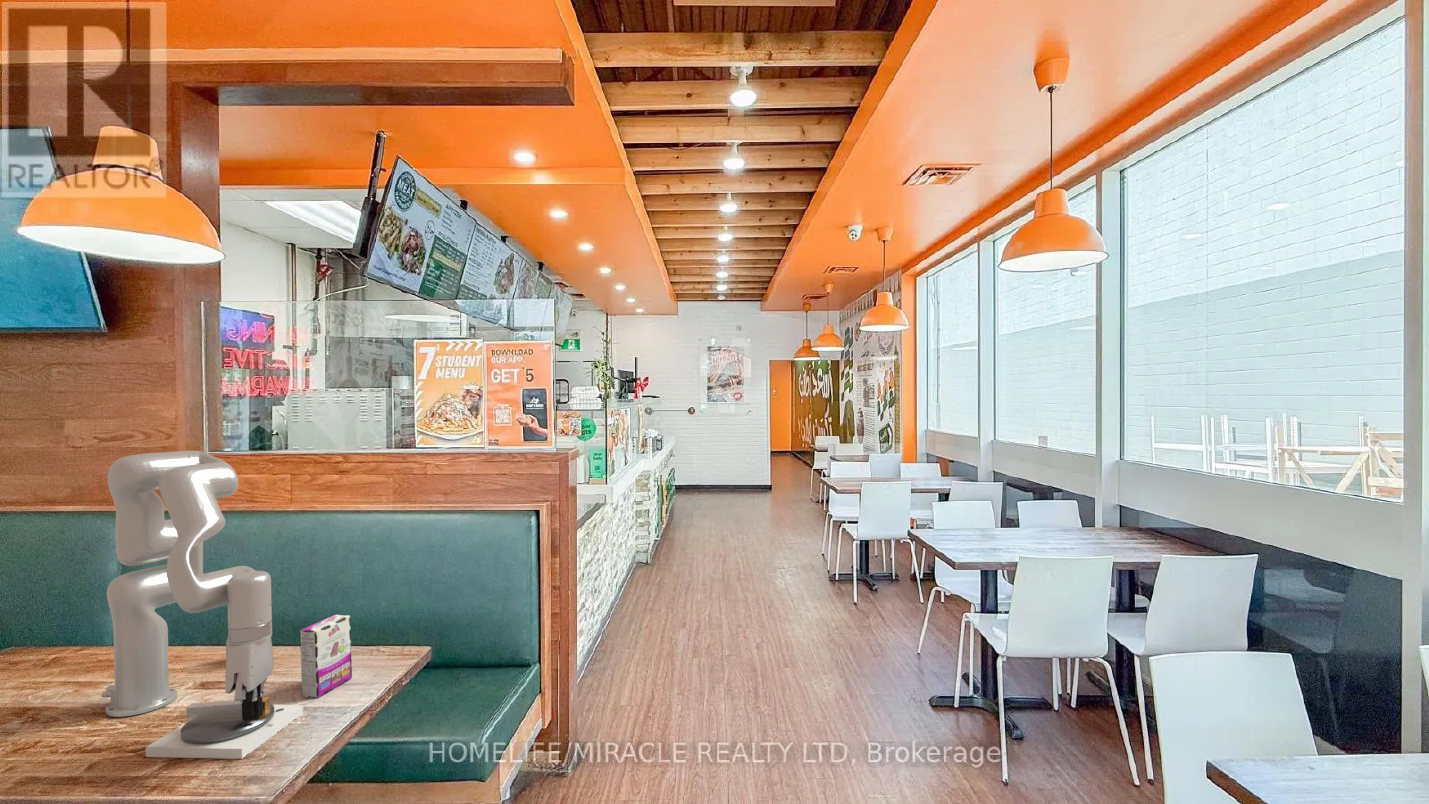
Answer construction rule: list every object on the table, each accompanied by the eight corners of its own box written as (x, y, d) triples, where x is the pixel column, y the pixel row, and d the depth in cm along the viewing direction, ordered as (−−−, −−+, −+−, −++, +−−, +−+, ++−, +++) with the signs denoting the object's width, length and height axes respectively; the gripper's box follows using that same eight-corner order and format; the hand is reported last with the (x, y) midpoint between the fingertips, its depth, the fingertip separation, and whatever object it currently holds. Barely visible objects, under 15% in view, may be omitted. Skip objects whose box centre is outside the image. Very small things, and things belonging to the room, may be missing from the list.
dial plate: (145, 756, 129) (145, 746, 129) (218, 712, 147) (218, 702, 147) (241, 758, 128) (241, 748, 128) (303, 713, 146) (303, 704, 146)
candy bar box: (335, 676, 166) (335, 613, 165) (352, 678, 165) (351, 615, 164) (299, 697, 155) (298, 629, 154) (317, 699, 154) (316, 630, 153)
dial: (161, 747, 129) (161, 724, 128) (209, 708, 144) (209, 688, 144) (250, 739, 131) (250, 717, 131) (288, 702, 147) (287, 682, 147)
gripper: (249, 620, 142) (251, 703, 142) (209, 646, 128) (211, 738, 128) (287, 618, 144) (288, 699, 144) (251, 643, 129) (253, 734, 129)
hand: (252, 717), depth 136 cm, fingers closed
